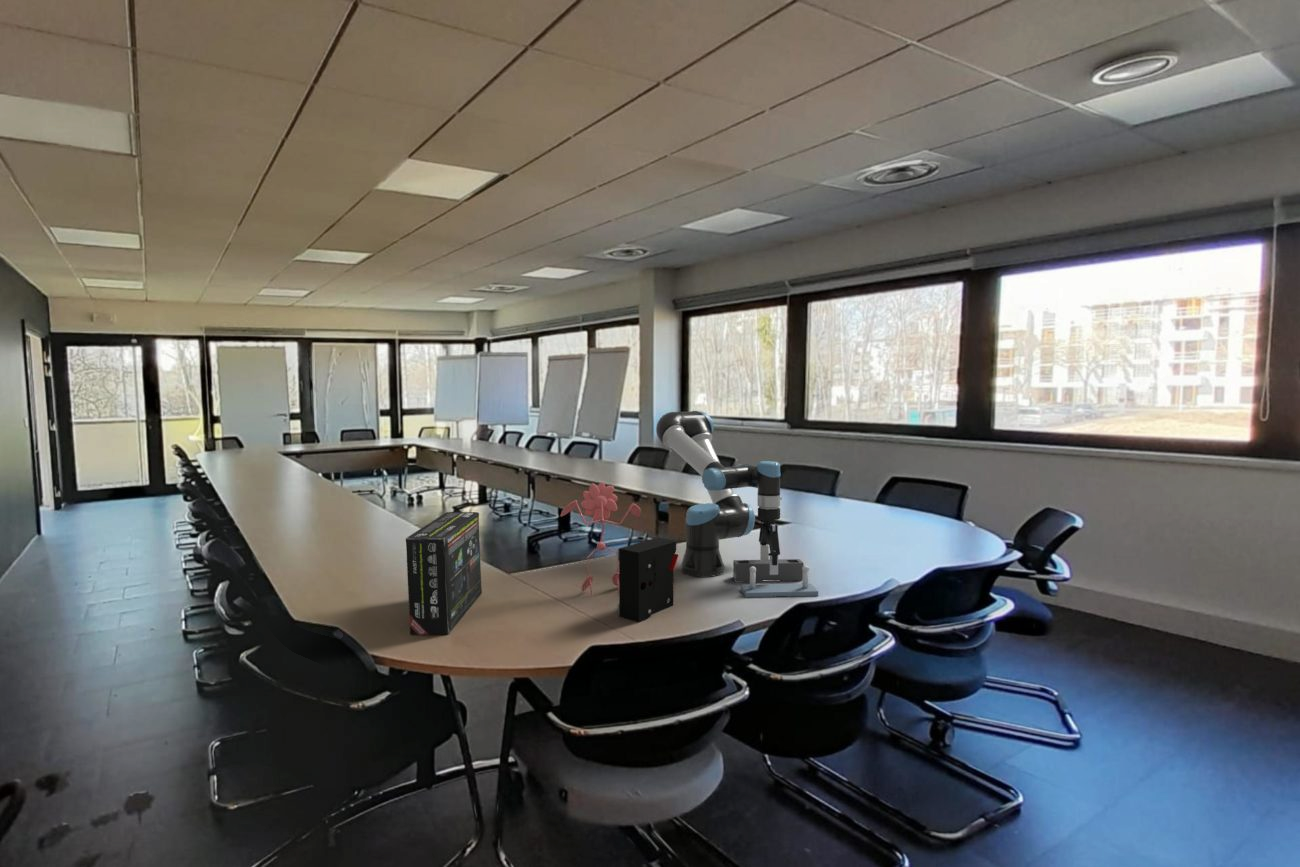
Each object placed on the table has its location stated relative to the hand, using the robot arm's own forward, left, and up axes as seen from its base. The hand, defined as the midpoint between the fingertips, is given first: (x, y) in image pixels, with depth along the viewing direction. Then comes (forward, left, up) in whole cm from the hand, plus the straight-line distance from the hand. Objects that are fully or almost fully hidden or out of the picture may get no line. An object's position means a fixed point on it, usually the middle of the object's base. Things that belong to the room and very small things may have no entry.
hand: (769, 569), depth 229 cm
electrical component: (-43, -29, -4) cm, 52 cm away
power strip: (0, 0, -4) cm, 4 cm away
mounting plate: (0, -15, -4) cm, 15 cm away
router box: (-101, -27, -4) cm, 105 cm away
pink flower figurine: (-57, -7, -4) cm, 58 cm away
